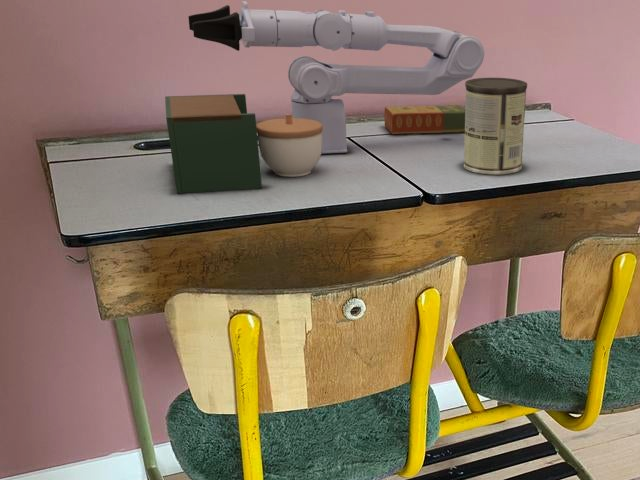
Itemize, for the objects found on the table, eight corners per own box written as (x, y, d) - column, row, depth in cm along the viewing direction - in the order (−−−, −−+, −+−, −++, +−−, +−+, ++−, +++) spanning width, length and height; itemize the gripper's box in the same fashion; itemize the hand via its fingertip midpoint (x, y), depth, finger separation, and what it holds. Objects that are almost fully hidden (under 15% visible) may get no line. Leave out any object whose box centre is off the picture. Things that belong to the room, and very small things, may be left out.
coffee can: (473, 157, 148) (475, 75, 141) (528, 163, 145) (533, 79, 138) (454, 171, 139) (457, 84, 133) (513, 177, 137) (518, 89, 130)
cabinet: (251, 161, 142) (244, 93, 137) (262, 188, 128) (255, 114, 123) (174, 165, 139) (164, 96, 133) (177, 193, 125) (166, 117, 119)
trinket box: (312, 182, 131) (308, 123, 127) (249, 178, 133) (243, 118, 129) (333, 166, 141) (330, 110, 136) (274, 161, 142) (270, 106, 138)
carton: (384, 126, 169) (383, 105, 167) (458, 124, 173) (459, 103, 171) (392, 135, 162) (392, 113, 160) (469, 132, 166) (470, 110, 163)
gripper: (266, -3, 142) (185, -6, 138) (281, 8, 131) (193, 5, 126) (267, 40, 146) (188, 39, 141) (282, 55, 134) (197, 53, 130)
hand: (191, 26), depth 134 cm, fingers open, 7 cm apart
